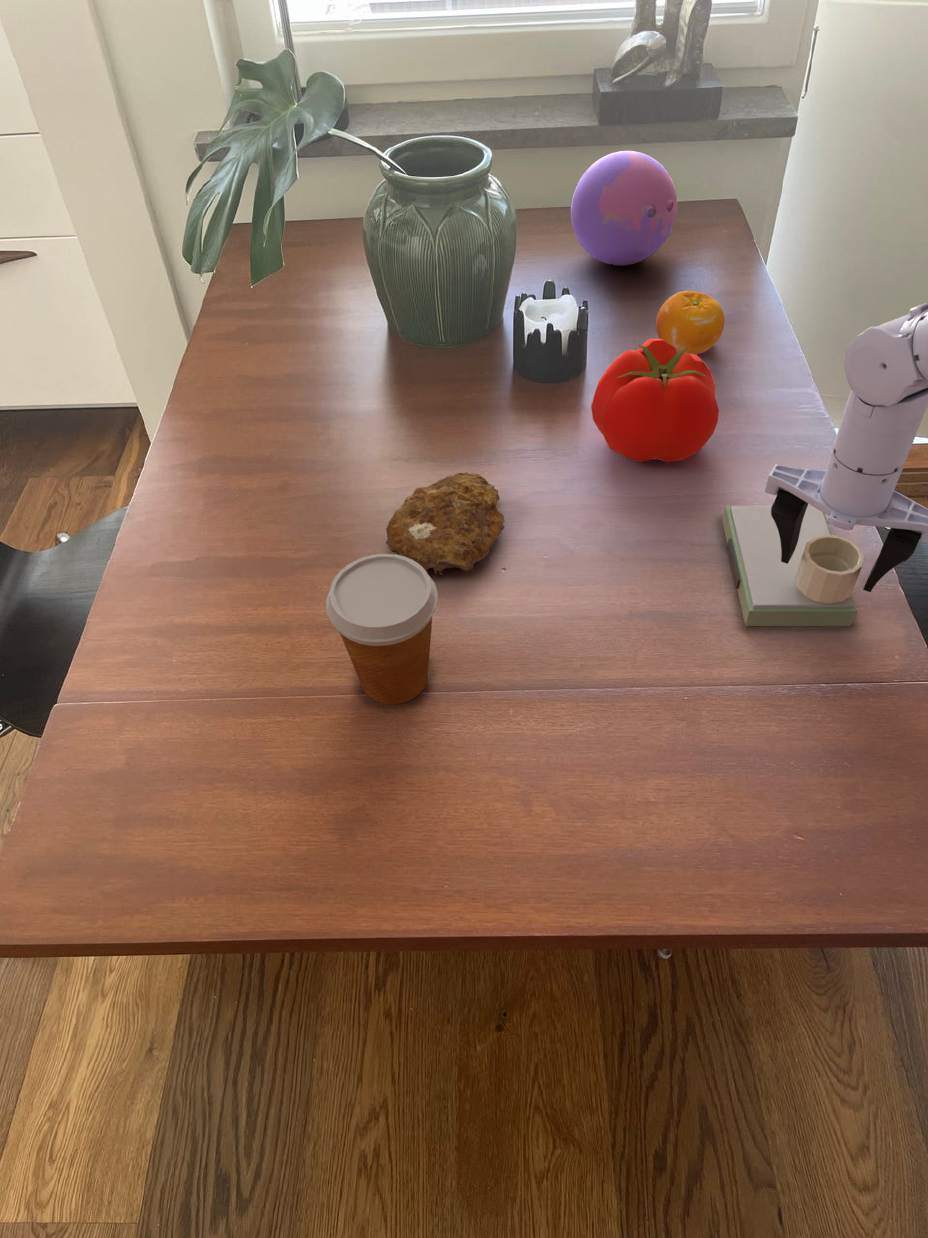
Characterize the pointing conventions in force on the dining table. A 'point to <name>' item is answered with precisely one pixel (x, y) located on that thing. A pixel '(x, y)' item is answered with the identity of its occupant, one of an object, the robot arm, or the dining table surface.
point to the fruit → (690, 322)
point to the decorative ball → (624, 208)
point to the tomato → (656, 403)
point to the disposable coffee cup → (385, 623)
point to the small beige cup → (829, 569)
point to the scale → (776, 570)
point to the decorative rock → (447, 523)
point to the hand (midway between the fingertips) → (828, 570)
